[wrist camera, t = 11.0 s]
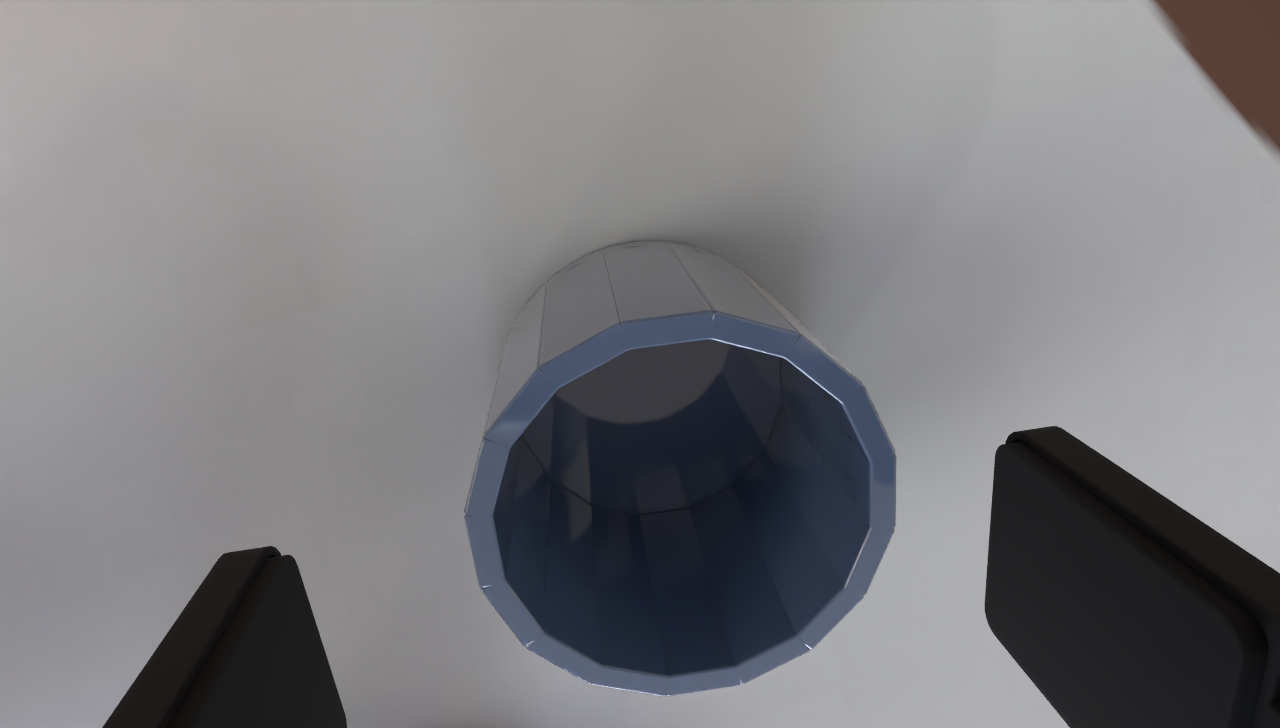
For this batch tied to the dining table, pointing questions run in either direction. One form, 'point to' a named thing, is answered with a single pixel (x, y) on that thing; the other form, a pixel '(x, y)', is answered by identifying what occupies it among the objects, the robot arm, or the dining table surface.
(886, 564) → the dining table surface
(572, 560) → the blue faceted cup
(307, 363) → the dining table surface
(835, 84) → the dining table surface
